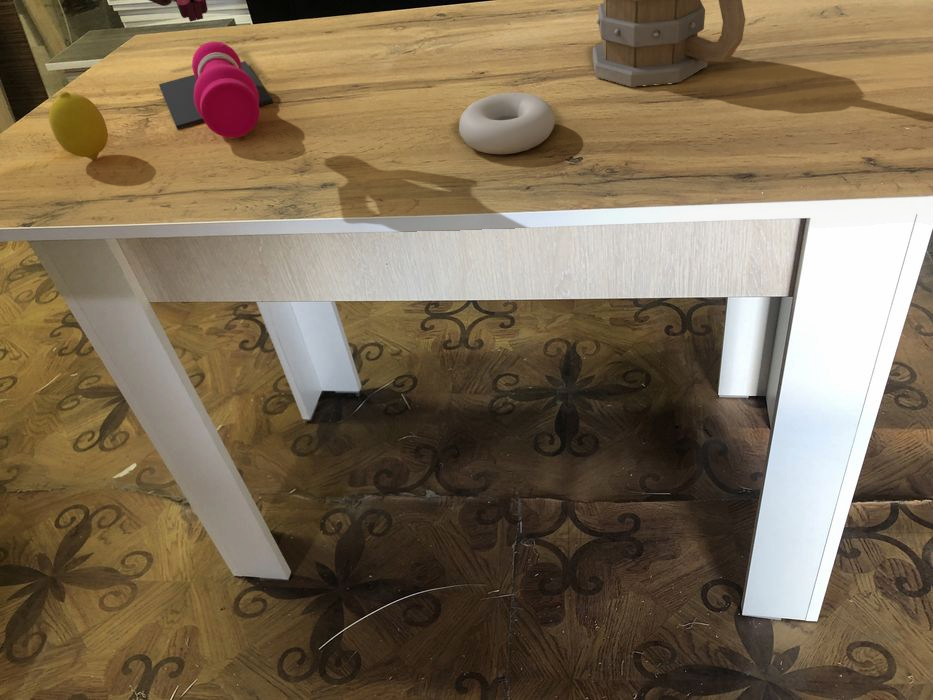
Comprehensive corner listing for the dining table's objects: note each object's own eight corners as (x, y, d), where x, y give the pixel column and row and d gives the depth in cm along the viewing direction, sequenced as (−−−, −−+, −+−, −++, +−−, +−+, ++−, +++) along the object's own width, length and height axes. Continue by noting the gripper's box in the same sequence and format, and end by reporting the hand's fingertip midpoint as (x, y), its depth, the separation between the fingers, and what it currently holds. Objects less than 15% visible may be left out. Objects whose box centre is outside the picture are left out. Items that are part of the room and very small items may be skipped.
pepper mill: (195, 139, 87) (184, 81, 101) (261, 144, 89) (241, 87, 104) (197, 74, 83) (185, 24, 97) (266, 82, 85) (244, 32, 100)
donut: (443, 154, 80) (530, 166, 76) (438, 123, 78) (527, 133, 74) (488, 113, 87) (571, 122, 82) (485, 83, 84) (569, 90, 80)
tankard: (571, 71, 92) (568, -67, 83) (639, 37, 98) (644, -96, 88) (715, 112, 80) (730, -44, 70) (783, 71, 86) (806, -80, 76)
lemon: (122, 144, 92) (93, 78, 86) (114, 165, 87) (83, 97, 82) (75, 152, 91) (43, 87, 86) (64, 174, 87) (30, 106, 82)
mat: (177, 129, 93) (175, 125, 93) (160, 87, 105) (158, 84, 104) (273, 102, 96) (272, 98, 96) (246, 64, 107) (245, 60, 107)
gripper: (226, -153, 69) (240, -33, 85) (73, -123, 65) (119, -5, 82) (257, -76, 68) (265, 29, 85) (104, -43, 65) (144, 60, 82)
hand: (193, 12), depth 84 cm, fingers closed
